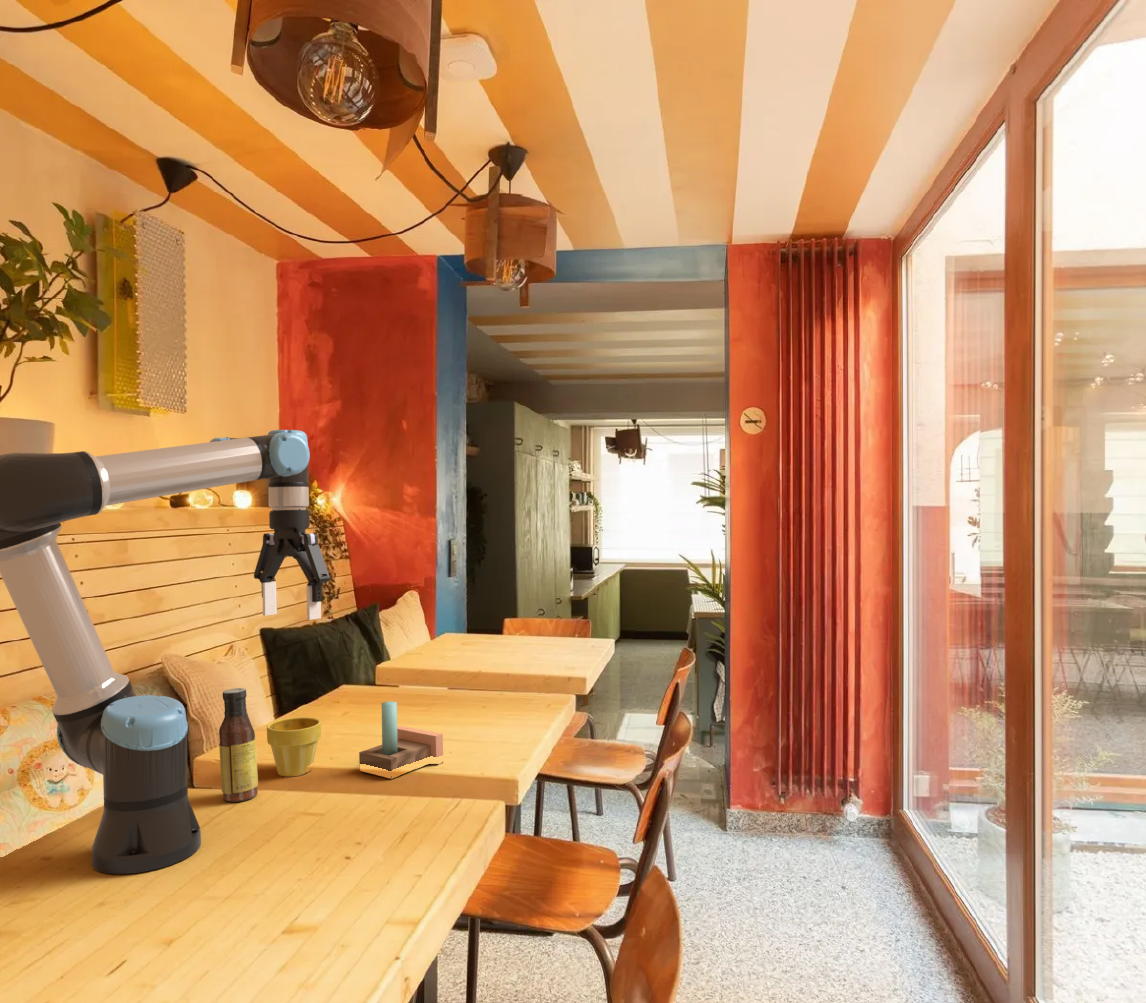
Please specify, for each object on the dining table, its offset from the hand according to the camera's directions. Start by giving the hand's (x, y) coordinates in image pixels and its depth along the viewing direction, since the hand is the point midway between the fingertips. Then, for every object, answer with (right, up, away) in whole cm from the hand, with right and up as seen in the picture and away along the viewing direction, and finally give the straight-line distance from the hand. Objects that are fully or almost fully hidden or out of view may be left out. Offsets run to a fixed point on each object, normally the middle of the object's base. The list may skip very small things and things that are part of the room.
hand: (291, 617), depth 164 cm
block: (+20, -31, +5) cm, 37 cm away
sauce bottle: (-6, -32, -10) cm, 34 cm away
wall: (+23, -31, +10) cm, 40 cm away
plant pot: (-1, -32, +4) cm, 32 cm away
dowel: (+19, -30, +3) cm, 35 cm away
